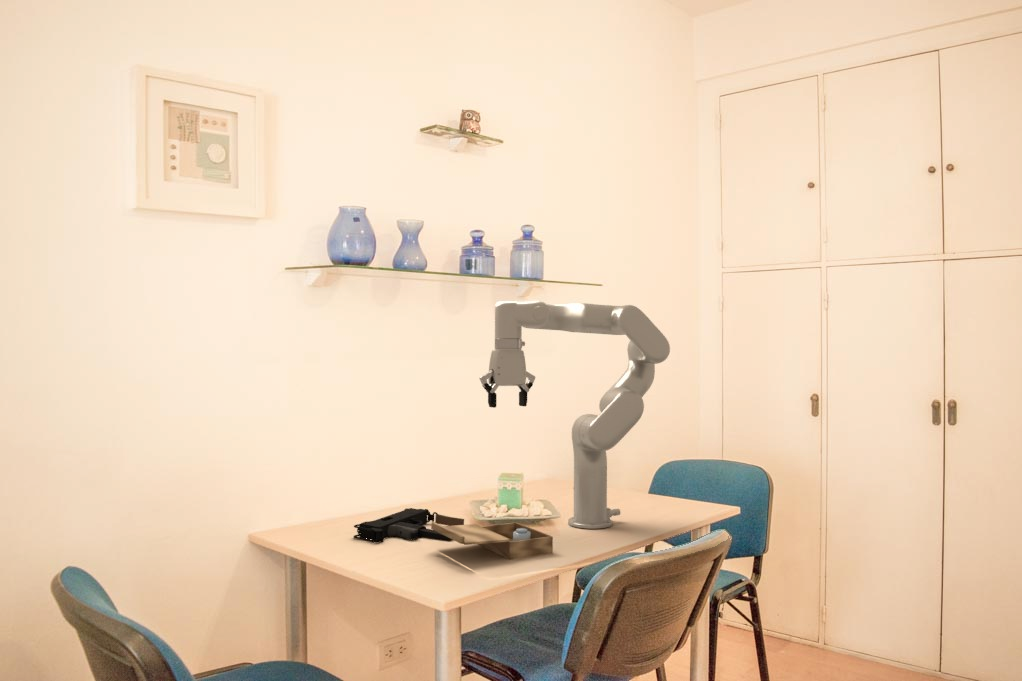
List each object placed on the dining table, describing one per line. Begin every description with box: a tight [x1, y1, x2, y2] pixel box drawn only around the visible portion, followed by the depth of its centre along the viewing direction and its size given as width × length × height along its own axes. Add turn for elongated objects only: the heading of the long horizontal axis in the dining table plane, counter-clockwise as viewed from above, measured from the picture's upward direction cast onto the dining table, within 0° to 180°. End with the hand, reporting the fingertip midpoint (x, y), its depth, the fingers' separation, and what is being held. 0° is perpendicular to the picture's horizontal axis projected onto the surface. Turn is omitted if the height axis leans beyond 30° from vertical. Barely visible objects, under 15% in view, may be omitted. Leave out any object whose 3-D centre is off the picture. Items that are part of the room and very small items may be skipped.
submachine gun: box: [352, 507, 465, 543], centre depth 214 cm, size 4×29×25 cm
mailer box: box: [478, 521, 554, 560], centre depth 197 cm, size 12×18×4 cm, turn 30°
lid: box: [430, 521, 510, 546], centre depth 191 cm, size 13×18×2 cm
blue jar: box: [513, 528, 531, 541], centre depth 199 cm, size 4×4×4 cm
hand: (507, 406), depth 220 cm, fingers open, 9 cm apart
